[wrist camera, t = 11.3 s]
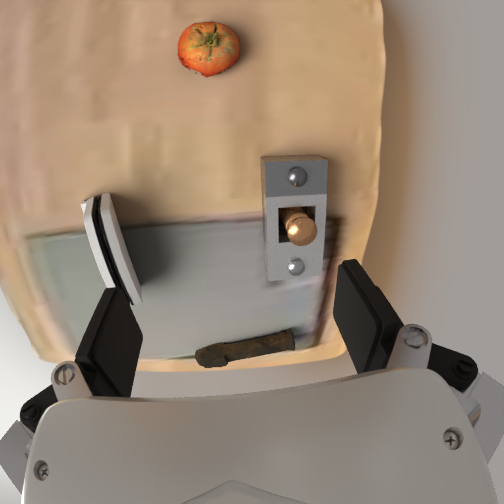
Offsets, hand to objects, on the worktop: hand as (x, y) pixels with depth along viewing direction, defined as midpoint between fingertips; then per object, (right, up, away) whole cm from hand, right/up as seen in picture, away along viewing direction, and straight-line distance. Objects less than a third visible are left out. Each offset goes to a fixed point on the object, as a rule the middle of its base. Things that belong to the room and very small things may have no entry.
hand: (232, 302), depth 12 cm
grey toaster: (-20, +4, +28) cm, 35 cm away
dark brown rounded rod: (-1, -15, +41) cm, 44 cm away
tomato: (-5, +28, +17) cm, 33 cm away
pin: (+6, +8, +29) cm, 30 cm away
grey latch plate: (+6, +8, +29) cm, 30 cm away
